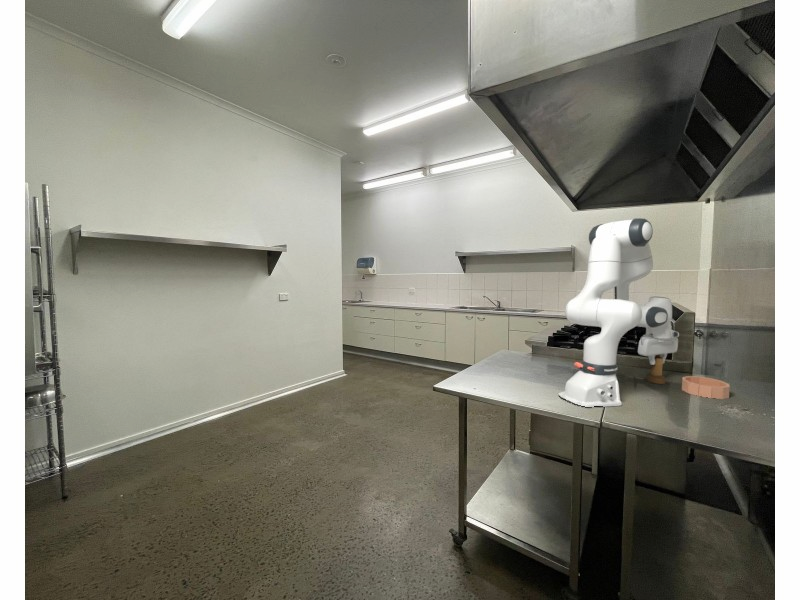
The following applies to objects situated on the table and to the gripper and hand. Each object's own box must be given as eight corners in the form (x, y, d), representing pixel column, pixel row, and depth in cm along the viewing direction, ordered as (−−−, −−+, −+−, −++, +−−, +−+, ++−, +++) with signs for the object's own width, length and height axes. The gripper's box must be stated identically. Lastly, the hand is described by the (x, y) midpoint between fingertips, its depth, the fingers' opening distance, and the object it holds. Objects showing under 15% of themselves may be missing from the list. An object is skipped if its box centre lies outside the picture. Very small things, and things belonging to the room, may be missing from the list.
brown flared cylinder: (669, 384, 145) (671, 343, 143) (654, 384, 145) (656, 343, 144) (657, 379, 151) (659, 340, 150) (643, 379, 152) (645, 340, 150)
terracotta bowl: (714, 400, 126) (714, 389, 125) (673, 388, 139) (674, 378, 138) (737, 396, 130) (738, 384, 130) (695, 385, 143) (696, 374, 143)
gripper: (649, 336, 140) (647, 368, 141) (681, 332, 147) (680, 363, 148) (634, 333, 146) (633, 364, 147) (666, 330, 153) (665, 359, 154)
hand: (657, 363), depth 148 cm, fingers closed on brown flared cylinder, 4 cm apart
